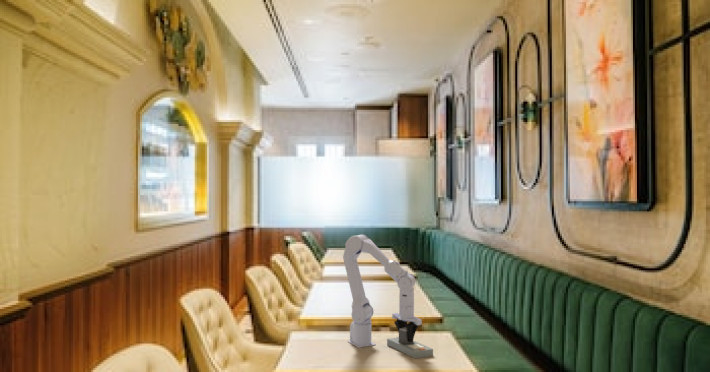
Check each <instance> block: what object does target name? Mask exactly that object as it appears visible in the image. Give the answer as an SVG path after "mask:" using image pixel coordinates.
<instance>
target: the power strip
mask: <svg viewBox="0 0 710 372" xmlns="http://www.w3.org/2000/svg"><path fill="white" fill-rule="evenodd" d="M386 345H387V346H388V347H389V348H390V347H391V348H392V349H394V350H396V351H398V352H400V353H403V354H405V355H407V356H409V357H411V358H413V359H415V360H417V359H422V358H427V357H433V356H434V349H433V348H431V347H430V346H427V345H425V344H423V343H420V342H418V341H416V340H413V344H408V345H404V344H401V343H399V336H398V337H390V338H387V339H386Z"/></svg>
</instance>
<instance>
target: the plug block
mask: <svg viewBox="0 0 710 372" xmlns="http://www.w3.org/2000/svg"><path fill="white" fill-rule="evenodd" d="M398 337H399V343H401V344H404V345H408V344H413V341H414V340H413V341H412V342H408V334H407V329H406V327H405V328H400V329H399V332H398Z"/></svg>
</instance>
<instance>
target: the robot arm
mask: <svg viewBox="0 0 710 372" xmlns="http://www.w3.org/2000/svg"><path fill="white" fill-rule="evenodd" d="M344 244H345V248H344V251H343V255H342V258H343V263H344V267H345V270H346V271H345V272H346V277H347V279H348V281H347V282H348V285H349V288H350V293H351V297H352V301H351V302H352V303H351V319H352V322H351V323H350V326H349V340H348V341H347V342H348V343H349V344H351V345H353V346H355V347H357V348H364V347H371V346H376V343H375V342H372V317H373V315H374V307H373V306H372V305H371V304H370V300H369V298H368V297H366V293H365V292H366V291H365V288H364V284H363V280H362V276H361V272H360V268H359V264H358V258H359V256H360V255H361V254H362V253H364V254H370V255H371V256H372V258H374V259H375V260H376V261H377V262H379V264H381V265H382V266H383V267H384V272H385V273H386V274H387V275H389V276H390V278H391V279H393V281H395V283H396V285H397V287H398V288H399V294H398V296H399V297H398V298H399V300H398V301H399V304H398V306H399V311H398V313H397V312H395V313H392V316H391V317H392V319H393V320H394V319H395V321H394V322H393V323H394V325H395V326H396V329H397V332H398V333H399V329H400V328H405V327H406V329H407V334H408V342H412V341H414V338H415V335H416V332H417V330H418V328H419V327H420V326H422V323H423V322H422V319H421V318H418V317H416V316H415V292H414V291H415V289H414V288H415V287H414V286H416V280H417V279H416V277H415V276H414V274H413V273H409V271H408V270H405V268H403V267H402V265H400V262H399V261H395V260H391V259H389V257H387V256H386V254H385V253H384V252H383V251H382V250H381V249H380V248H379V247H378V245H376V244H375V243H374V242H373V240H372V239H370V238H369V237H368V236H367V235H365V234H358V235H351V236H350V237H349V238H348V239H347V241H346V242H345V243H344Z"/></svg>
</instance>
